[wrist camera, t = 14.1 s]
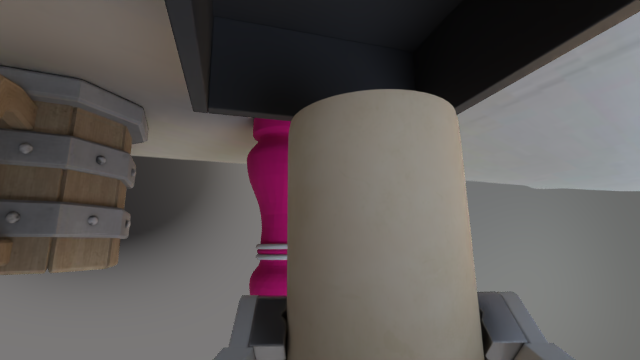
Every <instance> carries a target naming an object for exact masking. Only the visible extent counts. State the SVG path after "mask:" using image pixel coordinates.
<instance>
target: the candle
mask: <svg viewBox="0 0 640 360" xmlns="http://www.w3.org/2000/svg"><path fill="white" fill-rule="evenodd" d="M287 360H484V352H483V342H482V333H481V324H480V314H479V305H478V296H477V286H476V278H475V267H474V259H473V249H472V239H471V230H470V220H469V211H468V202H467V192H466V183H465V174H464V164H463V155H462V146H461V138H460V130H459V123H458V118H457V115H456V111H455V109H454V107H453V106H452V105H451V104H450V103H449V102H448V101H446V100H444V99H443V98H440V97H438V96H435V95H432V94H428V93H424V92H419V91H412V90H402V89H376V90H365V91H356V92H350V93H345V94H340V95H336V96H332V97H329V98H326V99H322V100H320V101H317V102H315V103H313V104H311V105H309V106H307V107H305V108H303V109H302V110H300V111H299V112H298V113H297V114H296V115H295V116H294V117H293V119H292V120H291V124H290V129H289V141H288V229H287Z"/></svg>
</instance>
